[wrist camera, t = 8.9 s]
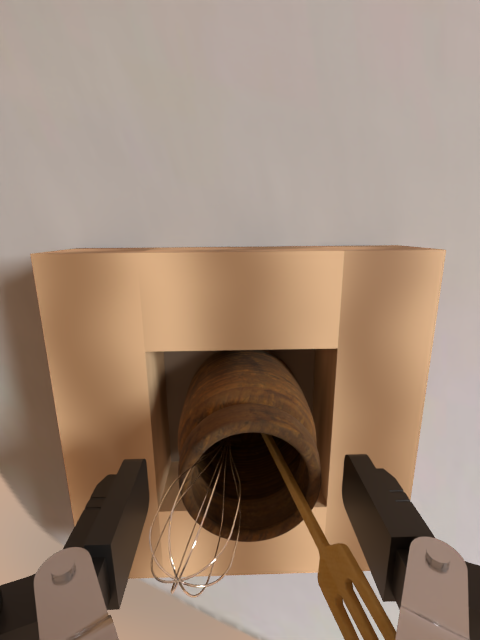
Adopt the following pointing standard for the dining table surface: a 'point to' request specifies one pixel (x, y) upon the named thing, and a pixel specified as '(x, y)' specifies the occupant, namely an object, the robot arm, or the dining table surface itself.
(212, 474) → the utensil holder
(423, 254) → the oak socket block
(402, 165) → the dining table surface
